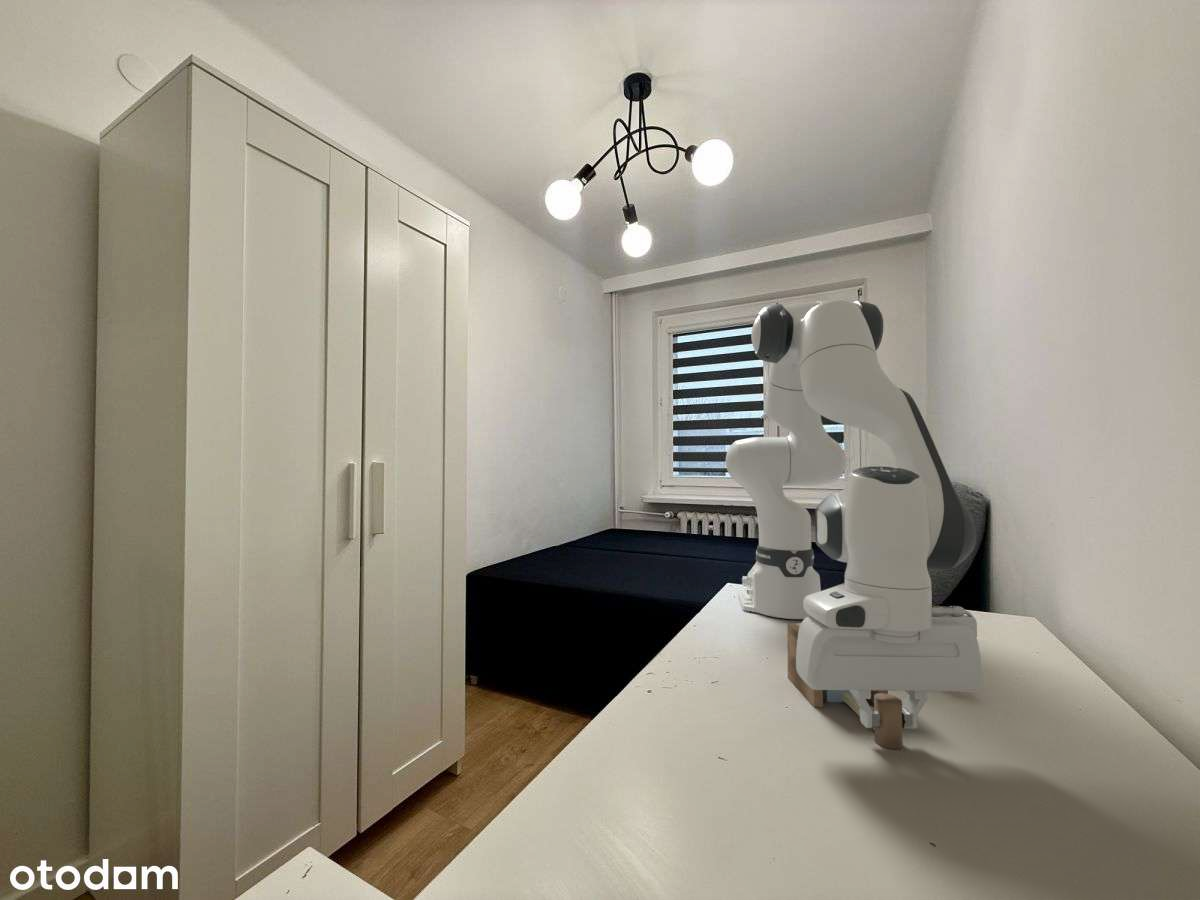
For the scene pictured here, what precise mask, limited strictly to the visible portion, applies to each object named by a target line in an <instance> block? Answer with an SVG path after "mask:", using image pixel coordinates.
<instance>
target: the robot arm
mask: <svg viewBox="0 0 1200 900" xmlns="http://www.w3.org/2000/svg"><path fill="white" fill-rule="evenodd" d="M883 317H884V316H883V314H882V312H881V310H880V309H879V307H878V306H877V305H876V304H874V303H870V302H865V301H861V300H860V301H859V300H856V301H853V302H851V301H848V300H844V299H830V300H817V301H808V302H807V301H806V302H805V301H804V302H796V303H790V304H789V303H788V304H782V303H778V304H777V303H776V304H772V305H768V306H765V307H763V308H762V309H761V310H760V311H759V312H758V313H757V314H756V318H755V320H754V323H753V325H752V328H751V336H750V337H751V345H752V348H753V350H754V354H755V355H756V357H757V358H759V360H761V361H763V362H766V363H770V367H769V371H768V378H767V387H766V395H765V403H764V411H765V414H766V416H767V418H768V419H769V420H770V421H771V422H772V423H773V424H774V425H776V426H778V427H780V428H782V429H784V430H786V431H788V432H789V433H788V435H787V436H755V437H753V436H752V437H748V438H743V439H738V440H735V441H734V442H732V444H731V445H730V446H729V448H728V449H727V452H726V456H725V468H726V470H727V472H728V474H729V476H730V477H731V479H733V481H735V482H736V483H737V484H738V485H740V486H741V488H743V489H744V490H745V491H746V493H747V494H748V495H749V496H750V498H751V499H752V503H753V504H754V506H755V510H756V514H757V522H758V523H757V524H758V525H757V527H758V545H757V547H756V550H755V561H756V562H755V563H754V565H753V566H752V567H751V569H750V570H749V571H748V573H747V575H746V576H745V575H743V576H742V577H741V584H742V587H747V589H741V590H738V593H737V596H739V597H738V600H739V599H740V600H739V603H740V606H741V608H742V610H743V611H746V612H750V611H751V612H750V613H757V614H762V615H764V616H769V617H773V618H779V619H780V618H781V619H789V620H802V622H800V623H801V625H800V628H799V632H798V639H797V649H796V670H797V672H798V674H799V676H800V677H801V678H802V680H803V681H804V682H805V683H806V684H807V685H808V686H809V687H810V688H812V689H814V690H850V692H851V694H852V696H853V697H854V699H855V701H856V703H857V704H858V706H859V707H860V716H859V720H860V723H861V724H862V725H863V726H864V727H865V728H866V729H873V728H880V722H879V721H880V713H879V712H878V711H875V709H874V706H870V705H869V703H868V700H870V698H871V690H884V691H888V692H889V691H897V692H901V691H903V692H905V693H907V695H906V697H905V699H904V701H903V702H902V729H917V728H918V715H919V714H920V712H921V710H922V708H923V707H924V705H925V704H926V703H927V701H928V692H977V691H978V690H979V689H980V688H981V686H982V685H983V683H984V670H983V662H982V655H981V650H980V646H979V640H978V638H977V637H978V622H977V619H976V618H975V617H974V615H973V614H972V613H971V612H970V611H968V610H966V609H965V608H964V607H962V606H959V605H950V606H940V605H933V604H932V600H933V599H932V596H933V595H932V594H933V593H932V579H931V577H930V574H929V571H928V570H933V571H938V572H939V571H941V572H948V571H950V570H952V569H954V568H955V567H957V566H959V565H960V564H961V563H962V562H964V561H965V560H966V559H967V558H968V557H969V556H970V554H972V552H973V551H974V548H975V546H976V543H977V531H976V525H975V521H974V518H973V517H972V514H971V512H970V510H969V509H968V508H967V506H966V504H965V503H964V501H963V500H962V499H961V497H960V495H959V494H958V493H957V490H956V489H955V487H954V485H953V484H952V480H951V479H950V476H949V474H948V472H947V469H946V468H945V465H944V463H943V460H942V457H941V456H940V454H939V451H938V449H937V446H936V444H935V442H934V440H933V438H932V435H931V433H930V431H929V428H928V427H927V424H926V421H925V420H924V417H923V415H922V413H921V411H920V409H919V407H918V405H917V403H916V402H915V400H914V398H913V397H912V396H911V394H910V393H909V392H907V391H905V390H903V389H901V388H900V387H898V386H897V385H896V384H895V383H893V381H892V380H891V379H890V378H889V377H888V376H887V374H886V373H885V372H884V371H883V369H882V367H881V365H880V363H879V362H880V361H879V360H878V355H877V350H878V349H879V347H880V345H881V343H882V339H883V334H884V318H883ZM822 417H824V418H825V419H828V420H829V421H832V422H835V423H838V424H843V425H846V426H850V427H853V428H856V429H859V430H861V431H864V432H867V433H869V434H871V435H873V436H876V437H877V438H880V440H882V441H884V442H885V444H887V446H889V447H890V449H891V451H892V453H893V455H894V458H895V461H896V463H897V466H898V467H892V466H863V467H858V468H856V469H854V470H852V471H850V472H849V474H848V477H847V482H846V487H845V488H844V489H842V490H840V491H839V492H836V493H830V494H828V495H827V496H826V497H824V499H822V501H820V502H819V503H818V504H817V506H816V507H815V512H814V513H815V515H814V516H815V518H814V520H815V521H814V522H815V523H814V524H815V525H814V527H815V529H814V532H815V533H814V534H815V535H814V536H815V538H814V539H815V544H816V546H817V547H818V548H819V549H820V550H821V551H822V552H823V553H824V554H826V556H828V557H829V558H831V559H832V560H833V561H834V560H835V561H838V562H842V563H846V566H845V567H846V568H845V571H844V582H843V583H841V584H838V585H834V586H832V587H829V588H826V589H823V590H822V589H821V578H820V577H821V576H820V574H819V573H818V571H816V570H815V569H814V567H813V566H814V565H815V564H814V563H815V562H814V559H815V554H814V549H813V548H812V518H811V515H810V513H809V511H808V509H806V508H805V507H804V506H802V505H801V504H799V503H798V502H796V501H793V500H791V499H789V498H787V497H786V496H785V493H784V488H783V487H784V486H804V487H805V486H808V487H809V486H810V487H811V486H813V487H814V486H819V485H820V486H822V485H826V484H832V483H836V482H837V481H839V479H840V478H841V477H842V475H844V472H845V470H846V465H847V459H846V458H847V457H846V454H845V451H844V449H843V448H842V446H841V444H840V443H839V442H838V441H836V440H835V439H833V438H832V436H830V435H829V434H828V432H827V431H826V429H825V428H824V425H823V421H822Z"/></svg>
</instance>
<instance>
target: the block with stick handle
mask: <svg viewBox="0 0 1200 900" xmlns="http://www.w3.org/2000/svg"><path fill="white" fill-rule="evenodd" d="M823 700H824V701H825V702H827V703H845V704H846V705H848V706H849V708H851V709H852V711H854V712H855V714H857V715H858V716H859V717H860V707H859V706H858V704H857V703H856V701H855V699H854V697H853V696H852V694H851V692H850V690H823ZM873 705H874V706H873V708H874V709H875V711H878V712H879V713H880V721H879V722H880V728H872V730H874V731H873V732H874V742H875V743H876V744H877V745H879V746H880V747H883V748H886V749H889V750H901V749H902V748H903V744H904V743H903V728H902V705H903V701H902V700H901V698H900V697H897V696H896V695H892V694H889V693H888V694H884V693H878V694H875V695H874V703H873Z"/></svg>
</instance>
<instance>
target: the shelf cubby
mask: <svg viewBox="0 0 1200 900" xmlns="http://www.w3.org/2000/svg"><path fill="white" fill-rule="evenodd" d="M801 623H802V622H799V623H798V622H788V623H787V628H786V629H787V632H786V633H787V679H788V680H789V681H790V682H791V683H792V684H793V686H794V687H795V688H796V689H797V690H798V691H799V692H800V693H801V694H802V696H803V697H805V698H806V700H807V701H808V703H810V704H811V705H812V706H813V707H814V708H824V698H823V690H814V689H812V688H810V687H809V686H808V685H807V684H806V683H805V682H804V681H803V680H802V678H801V677H800V676H799V674H798V672H797V670H796V649H797V639H798V632H799V628H800V625H801ZM878 693H884V694H889V691H884V690H871V698H870V699H869V700H870V701H871V702H872V703H873V704H874V695H875V694H878Z"/></svg>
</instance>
